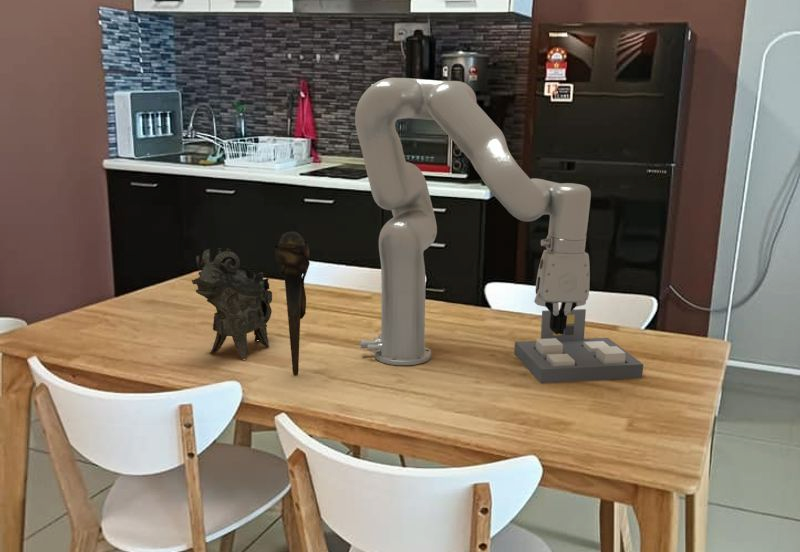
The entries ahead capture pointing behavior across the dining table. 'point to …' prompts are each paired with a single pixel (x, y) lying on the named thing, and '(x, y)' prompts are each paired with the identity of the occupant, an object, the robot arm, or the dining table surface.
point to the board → (576, 363)
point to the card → (573, 326)
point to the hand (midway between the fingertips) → (557, 332)
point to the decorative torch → (294, 285)
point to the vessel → (234, 299)
